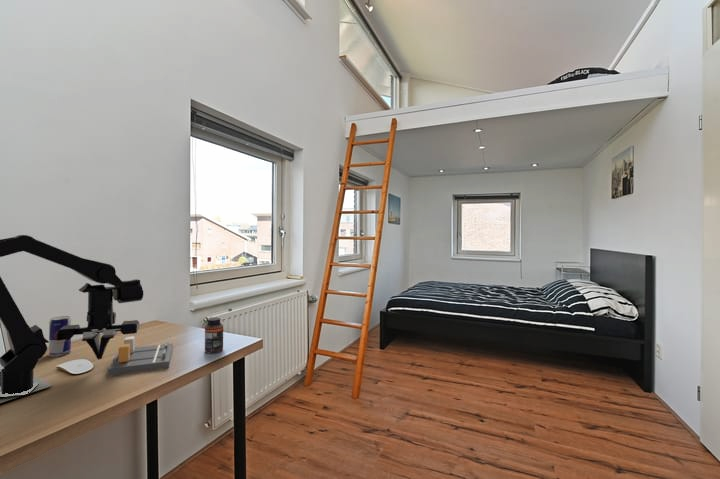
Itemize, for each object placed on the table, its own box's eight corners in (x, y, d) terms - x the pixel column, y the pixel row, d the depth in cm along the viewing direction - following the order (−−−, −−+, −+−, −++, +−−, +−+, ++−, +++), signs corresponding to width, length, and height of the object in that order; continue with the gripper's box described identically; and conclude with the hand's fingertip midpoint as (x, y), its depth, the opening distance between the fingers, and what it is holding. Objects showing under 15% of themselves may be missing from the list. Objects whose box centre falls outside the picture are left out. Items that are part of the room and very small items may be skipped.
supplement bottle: (216, 346, 121) (216, 315, 121) (226, 350, 118) (227, 318, 118) (200, 351, 116) (201, 319, 116) (211, 355, 113) (212, 321, 113)
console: (168, 367, 101) (169, 356, 101) (108, 375, 95) (108, 363, 95) (172, 349, 118) (172, 338, 118) (121, 354, 111) (121, 344, 111)
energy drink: (57, 357, 107) (58, 320, 107) (44, 356, 108) (44, 319, 108) (74, 352, 112) (75, 316, 112) (62, 350, 113) (62, 315, 113)
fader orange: (128, 361, 100) (128, 346, 100) (118, 362, 99) (118, 347, 99) (130, 357, 102) (130, 343, 102) (120, 359, 101) (120, 344, 101)
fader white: (132, 352, 107) (133, 338, 107) (123, 353, 106) (124, 339, 106) (134, 349, 110) (134, 336, 110) (125, 350, 109) (125, 337, 109)
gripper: (142, 298, 109) (141, 346, 109) (69, 302, 101) (68, 354, 101) (136, 305, 99) (136, 358, 99) (55, 310, 91) (54, 367, 91)
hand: (99, 358), depth 98 cm, fingers closed
